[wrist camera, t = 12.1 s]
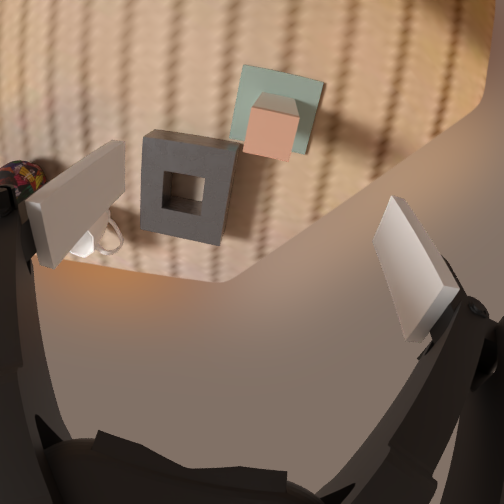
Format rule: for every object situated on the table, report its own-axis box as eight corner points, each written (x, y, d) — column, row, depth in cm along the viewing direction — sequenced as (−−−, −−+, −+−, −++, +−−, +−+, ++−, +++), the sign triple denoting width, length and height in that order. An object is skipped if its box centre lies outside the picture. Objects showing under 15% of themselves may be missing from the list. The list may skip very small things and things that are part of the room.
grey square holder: (154, 129, 39) (143, 136, 36) (240, 143, 40) (235, 151, 36) (150, 216, 47) (140, 229, 44) (224, 231, 48) (219, 246, 44)
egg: (9, 161, 43) (-46, 198, 31) (43, 144, 41) (-19, 181, 29) (29, 209, 49) (-19, 254, 36) (64, 199, 47) (11, 247, 35)
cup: (91, 186, 45) (63, 209, 38) (139, 219, 48) (117, 248, 41) (78, 216, 48) (54, 241, 42) (123, 247, 51) (103, 276, 45)
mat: (243, 64, 33) (243, 64, 33) (323, 82, 34) (323, 82, 33) (229, 137, 39) (229, 138, 39) (304, 153, 39) (304, 154, 39)
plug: (262, 91, 35) (251, 107, 23) (294, 98, 35) (299, 118, 24) (256, 121, 37) (242, 151, 26) (287, 128, 37) (288, 161, 26)
